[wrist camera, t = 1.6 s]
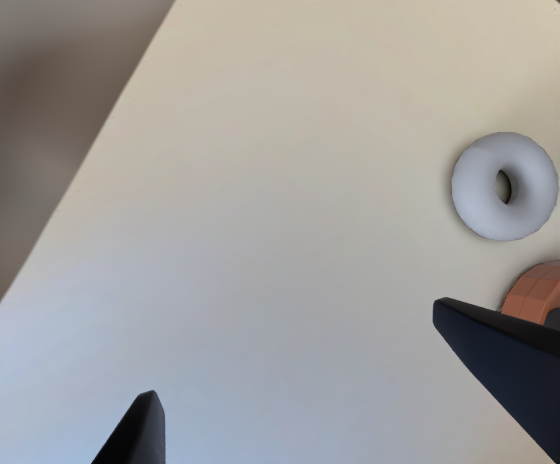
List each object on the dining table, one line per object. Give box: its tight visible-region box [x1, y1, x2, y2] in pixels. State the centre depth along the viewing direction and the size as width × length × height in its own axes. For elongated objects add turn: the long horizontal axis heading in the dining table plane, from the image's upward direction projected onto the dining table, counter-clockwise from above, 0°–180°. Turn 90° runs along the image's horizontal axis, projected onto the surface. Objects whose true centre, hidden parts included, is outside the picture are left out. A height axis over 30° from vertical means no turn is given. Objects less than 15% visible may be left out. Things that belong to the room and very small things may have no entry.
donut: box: [451, 132, 559, 241], centre depth 27 cm, size 10×4×10 cm
